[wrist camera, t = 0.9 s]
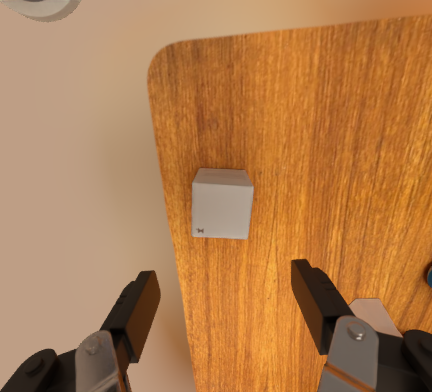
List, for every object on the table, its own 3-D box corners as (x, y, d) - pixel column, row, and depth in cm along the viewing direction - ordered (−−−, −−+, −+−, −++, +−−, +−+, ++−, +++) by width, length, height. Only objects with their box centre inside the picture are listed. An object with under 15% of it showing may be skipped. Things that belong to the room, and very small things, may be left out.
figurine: (341, 299, 33) (469, 487, 16) (392, 297, 32) (579, 487, 16) (336, 329, 35) (442, 520, 18) (383, 327, 35) (537, 521, 18)
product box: (241, 212, 28) (248, 241, 21) (197, 209, 28) (189, 238, 21) (246, 168, 26) (255, 185, 19) (198, 166, 26) (190, 182, 19)
